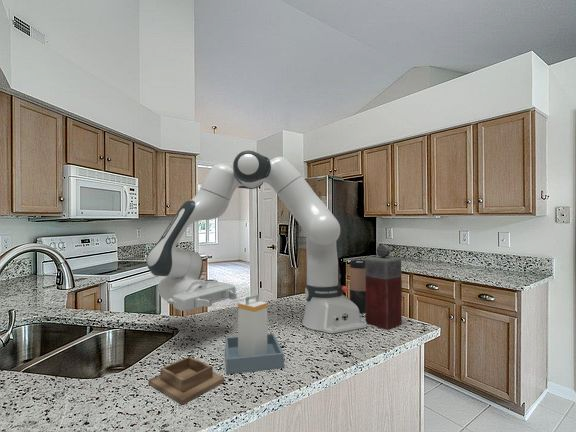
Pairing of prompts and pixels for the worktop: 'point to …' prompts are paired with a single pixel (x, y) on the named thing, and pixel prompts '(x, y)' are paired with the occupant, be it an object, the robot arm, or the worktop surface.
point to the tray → (253, 357)
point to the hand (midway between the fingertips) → (223, 299)
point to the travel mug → (358, 284)
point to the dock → (186, 380)
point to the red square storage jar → (383, 290)
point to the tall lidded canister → (252, 327)
